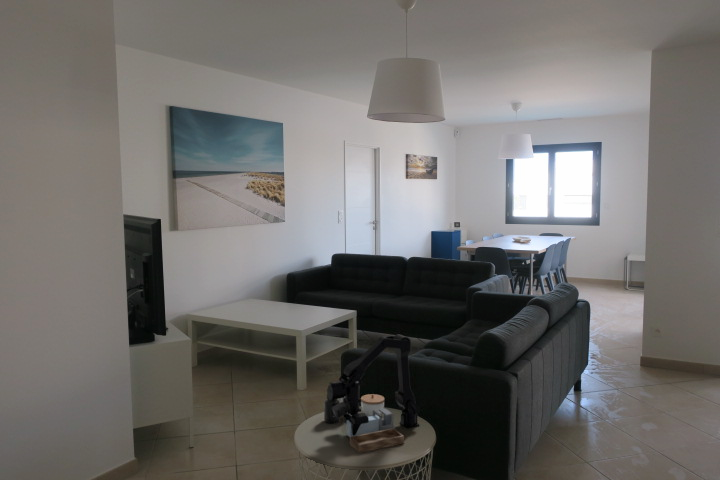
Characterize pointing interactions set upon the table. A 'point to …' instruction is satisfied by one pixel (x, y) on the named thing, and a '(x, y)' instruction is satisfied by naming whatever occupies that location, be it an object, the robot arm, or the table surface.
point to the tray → (376, 440)
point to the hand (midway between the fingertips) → (351, 433)
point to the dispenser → (385, 419)
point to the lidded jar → (372, 404)
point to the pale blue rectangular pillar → (365, 426)
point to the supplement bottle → (330, 411)
